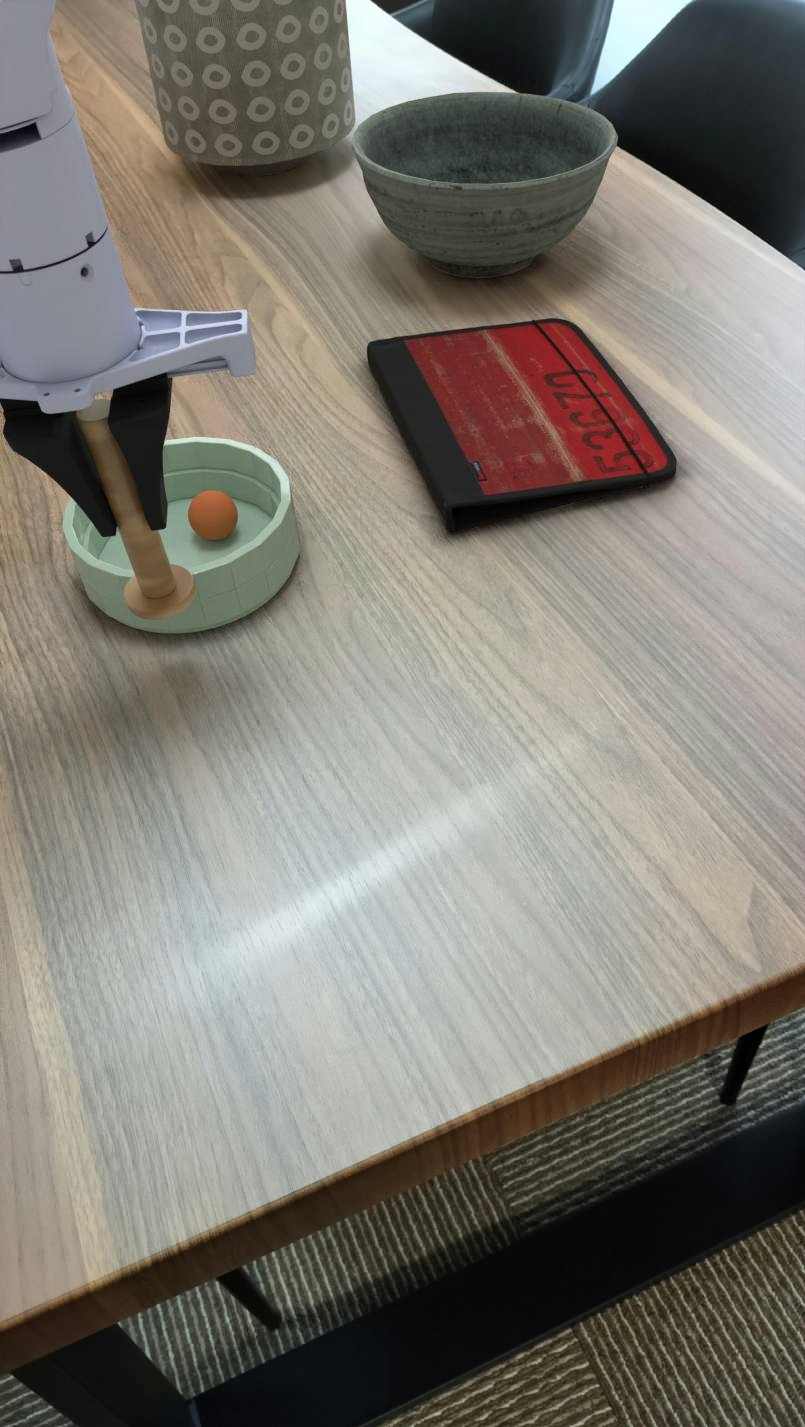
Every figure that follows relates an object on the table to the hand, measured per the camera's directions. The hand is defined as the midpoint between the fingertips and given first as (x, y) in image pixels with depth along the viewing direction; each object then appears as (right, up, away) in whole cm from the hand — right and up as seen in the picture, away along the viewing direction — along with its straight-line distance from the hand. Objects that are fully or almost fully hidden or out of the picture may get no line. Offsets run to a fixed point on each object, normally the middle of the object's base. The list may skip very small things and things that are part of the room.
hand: (134, 520), depth 49 cm
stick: (0, -3, +4) cm, 5 cm away
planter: (-1, +47, +55) cm, 72 cm away
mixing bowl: (0, 0, +14) cm, 14 cm away
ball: (+1, +3, +13) cm, 14 cm away
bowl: (+20, +30, +39) cm, 52 cm away
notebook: (+21, +11, +22) cm, 32 cm away
